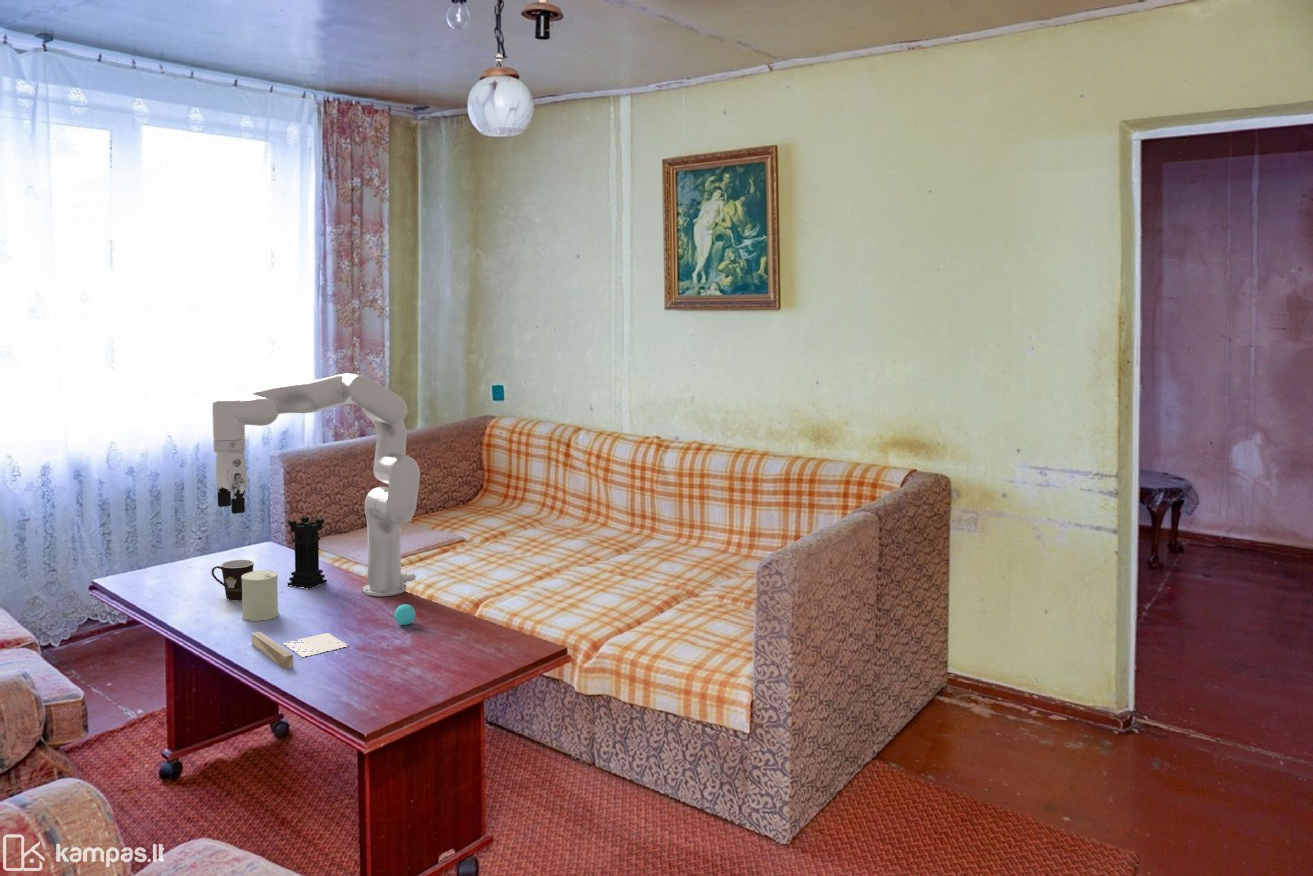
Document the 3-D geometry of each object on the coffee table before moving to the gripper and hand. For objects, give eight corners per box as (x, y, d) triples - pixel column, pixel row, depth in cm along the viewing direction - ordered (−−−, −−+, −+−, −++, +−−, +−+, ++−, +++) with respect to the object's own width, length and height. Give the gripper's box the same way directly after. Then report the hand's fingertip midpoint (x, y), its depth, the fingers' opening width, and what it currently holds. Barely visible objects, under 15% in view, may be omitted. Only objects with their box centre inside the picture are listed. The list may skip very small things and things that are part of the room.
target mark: (327, 633, 243) (327, 632, 243) (349, 646, 234) (349, 645, 234) (282, 643, 235) (282, 643, 235) (302, 657, 226) (302, 657, 226)
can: (265, 623, 249) (264, 579, 247) (234, 619, 251) (233, 576, 249) (285, 612, 258) (284, 570, 256) (255, 609, 260) (254, 567, 258)
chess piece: (326, 582, 286) (326, 518, 283) (309, 589, 279) (308, 524, 276) (305, 578, 289) (304, 516, 286) (287, 585, 281) (286, 521, 278)
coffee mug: (260, 596, 270) (260, 563, 269) (233, 603, 263) (232, 569, 262) (236, 588, 276) (236, 556, 275) (209, 595, 269) (208, 562, 268)
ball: (408, 619, 256) (408, 600, 255) (419, 625, 252) (419, 605, 251) (390, 623, 252) (390, 604, 251) (400, 629, 248) (400, 609, 247)
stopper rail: (259, 643, 235) (259, 631, 234) (293, 666, 221) (293, 654, 220) (251, 644, 233) (251, 633, 233) (284, 668, 219) (284, 656, 219)
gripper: (257, 448, 239) (258, 513, 241) (232, 440, 251) (233, 502, 253) (226, 451, 233) (228, 517, 236) (202, 442, 246) (204, 505, 248)
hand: (231, 509), depth 245 cm, fingers open, 9 cm apart
